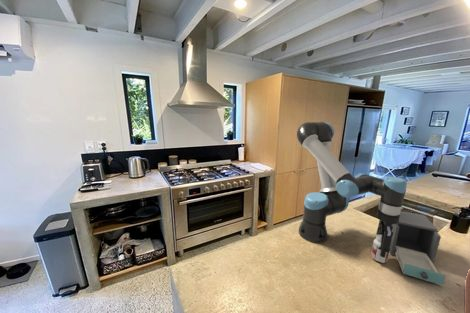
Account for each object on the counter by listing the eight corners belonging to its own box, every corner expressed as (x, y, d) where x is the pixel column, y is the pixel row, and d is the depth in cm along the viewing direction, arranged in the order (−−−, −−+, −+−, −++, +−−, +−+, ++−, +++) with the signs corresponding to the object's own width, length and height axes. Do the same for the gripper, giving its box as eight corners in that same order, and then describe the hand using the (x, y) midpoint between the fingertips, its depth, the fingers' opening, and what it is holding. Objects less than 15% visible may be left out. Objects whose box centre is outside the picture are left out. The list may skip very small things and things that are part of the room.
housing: (383, 234, 107) (388, 208, 104) (418, 242, 100) (425, 215, 97) (390, 254, 92) (397, 225, 88) (432, 266, 85) (441, 234, 82)
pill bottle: (389, 259, 88) (394, 239, 85) (383, 265, 85) (388, 244, 82) (374, 251, 93) (378, 231, 90) (368, 256, 90) (372, 236, 87)
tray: (393, 249, 94) (395, 241, 93) (425, 257, 88) (428, 249, 88) (404, 275, 79) (406, 266, 78) (444, 288, 73) (447, 278, 72)
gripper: (406, 225, 73) (394, 274, 79) (394, 204, 90) (384, 246, 95) (382, 220, 77) (372, 267, 82) (374, 201, 93) (366, 241, 98)
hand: (379, 256), depth 88 cm, fingers closed on pill bottle, 6 cm apart
